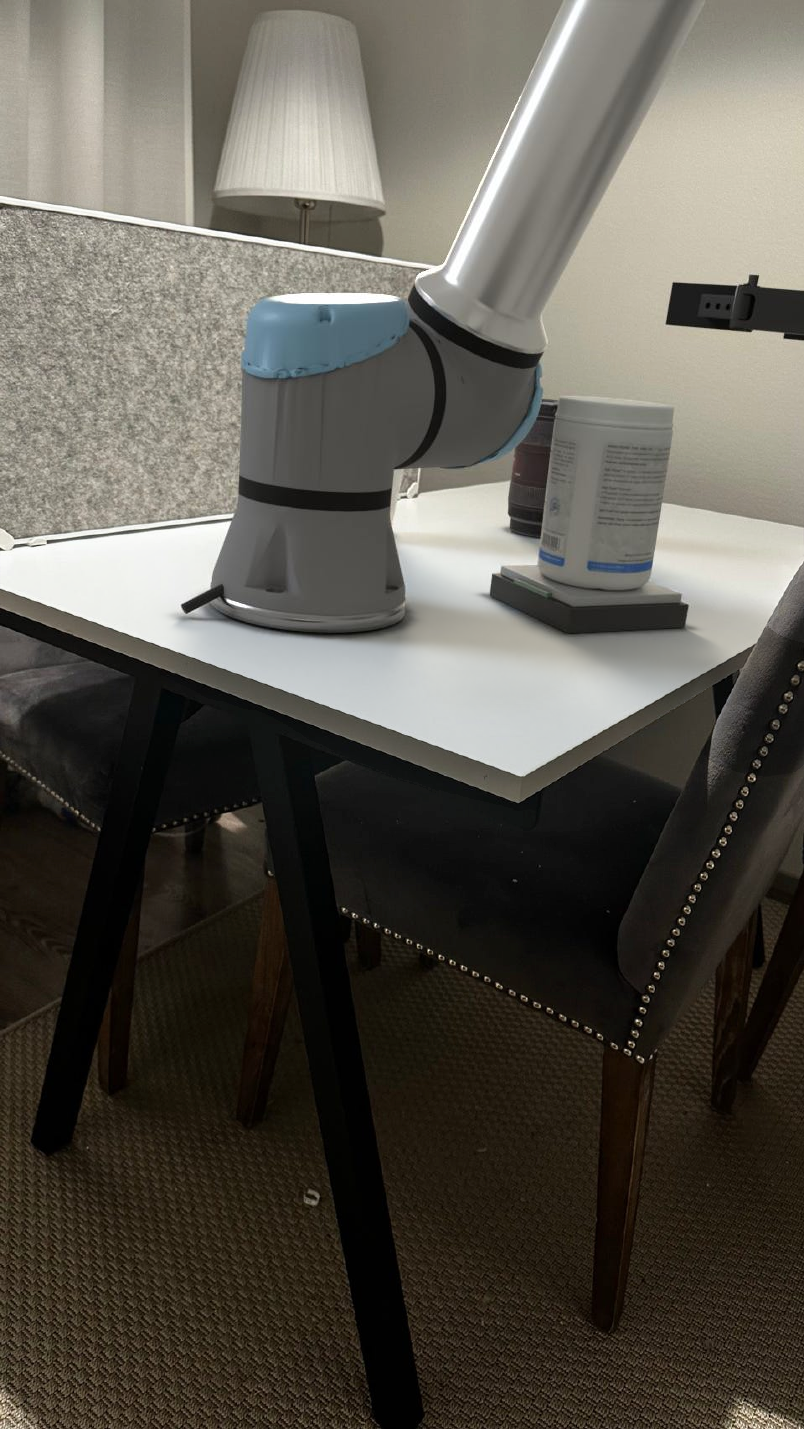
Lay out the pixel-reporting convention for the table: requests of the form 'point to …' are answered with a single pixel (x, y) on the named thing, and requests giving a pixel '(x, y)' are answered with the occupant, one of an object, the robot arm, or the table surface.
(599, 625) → the scale
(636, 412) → the supplement tub
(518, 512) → the camera lens
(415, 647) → the table surface
